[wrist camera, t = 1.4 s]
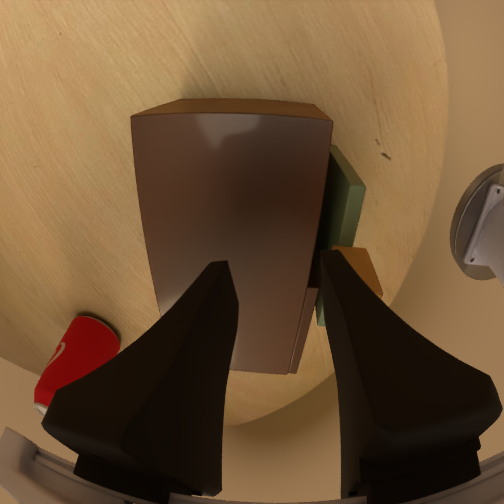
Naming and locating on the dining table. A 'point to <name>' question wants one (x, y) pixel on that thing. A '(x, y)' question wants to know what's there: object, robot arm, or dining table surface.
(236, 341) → the cabinet
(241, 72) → the dining table surface
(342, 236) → the green drawer
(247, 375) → the dining table surface
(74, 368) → the beverage can
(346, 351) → the robot arm
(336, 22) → the dining table surface
